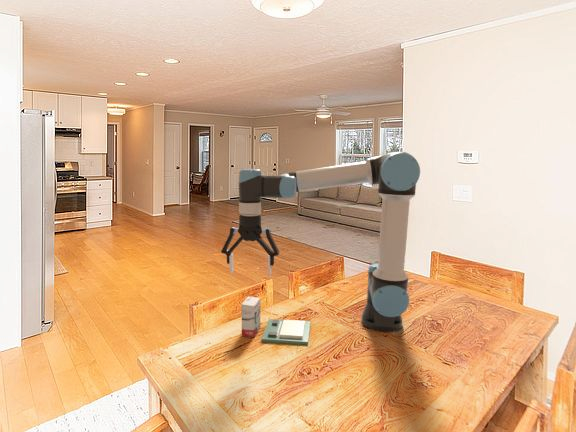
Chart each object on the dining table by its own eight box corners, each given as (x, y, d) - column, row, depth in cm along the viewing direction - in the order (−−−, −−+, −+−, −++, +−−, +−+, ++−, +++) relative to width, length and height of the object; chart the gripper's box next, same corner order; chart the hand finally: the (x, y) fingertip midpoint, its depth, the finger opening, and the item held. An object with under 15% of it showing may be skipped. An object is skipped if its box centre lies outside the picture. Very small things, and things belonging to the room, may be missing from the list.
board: (310, 323, 145) (310, 318, 145) (307, 344, 129) (307, 339, 129) (268, 321, 147) (268, 316, 146) (261, 341, 131) (261, 336, 131)
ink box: (254, 337, 134) (254, 306, 132) (241, 336, 135) (240, 304, 133) (261, 326, 142) (260, 296, 140) (248, 325, 143) (248, 295, 141)
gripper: (287, 213, 133) (286, 271, 137) (218, 211, 136) (219, 268, 140) (284, 217, 126) (284, 278, 130) (211, 214, 129) (212, 275, 132)
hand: (250, 273), depth 135 cm, fingers open, 13 cm apart
